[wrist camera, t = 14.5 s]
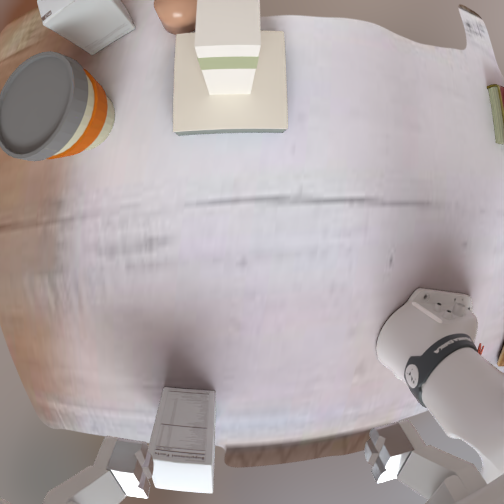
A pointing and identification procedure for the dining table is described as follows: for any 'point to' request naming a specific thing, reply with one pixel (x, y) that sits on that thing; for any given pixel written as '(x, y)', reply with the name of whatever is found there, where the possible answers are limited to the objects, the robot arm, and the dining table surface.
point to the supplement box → (184, 440)
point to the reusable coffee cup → (52, 109)
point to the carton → (228, 44)
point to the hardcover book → (497, 110)
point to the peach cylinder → (177, 15)
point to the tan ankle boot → (501, 358)
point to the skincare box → (87, 21)
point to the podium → (230, 105)
